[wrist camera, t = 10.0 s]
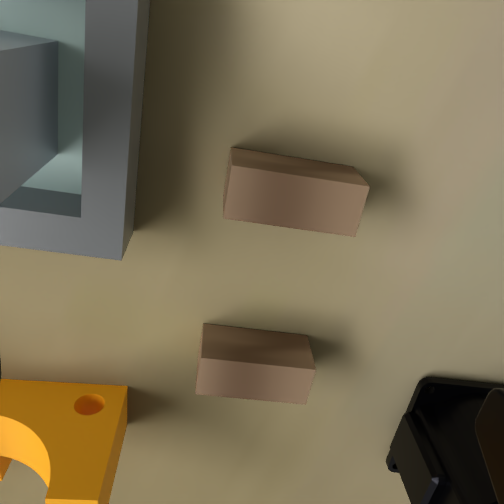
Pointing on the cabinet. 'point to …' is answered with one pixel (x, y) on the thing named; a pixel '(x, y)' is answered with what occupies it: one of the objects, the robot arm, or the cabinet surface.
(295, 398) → the brown blocks
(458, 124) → the cabinet surface
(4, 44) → the plug
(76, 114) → the port
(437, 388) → the robot arm
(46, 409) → the pipe clamp
